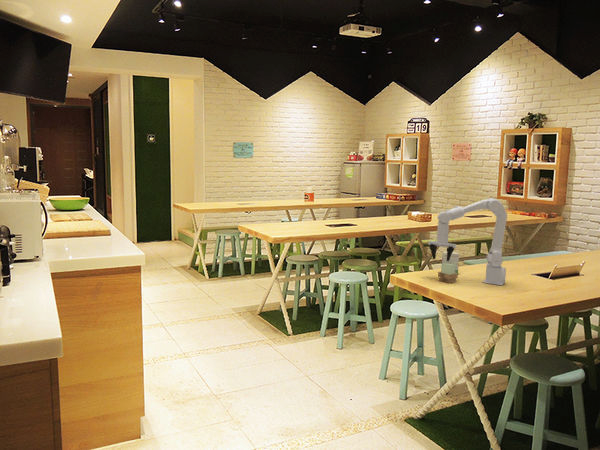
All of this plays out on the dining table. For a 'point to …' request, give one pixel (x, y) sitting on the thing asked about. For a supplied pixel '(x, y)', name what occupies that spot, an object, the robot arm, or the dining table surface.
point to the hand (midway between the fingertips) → (441, 259)
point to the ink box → (451, 260)
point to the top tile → (447, 276)
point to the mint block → (448, 268)
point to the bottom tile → (447, 280)
